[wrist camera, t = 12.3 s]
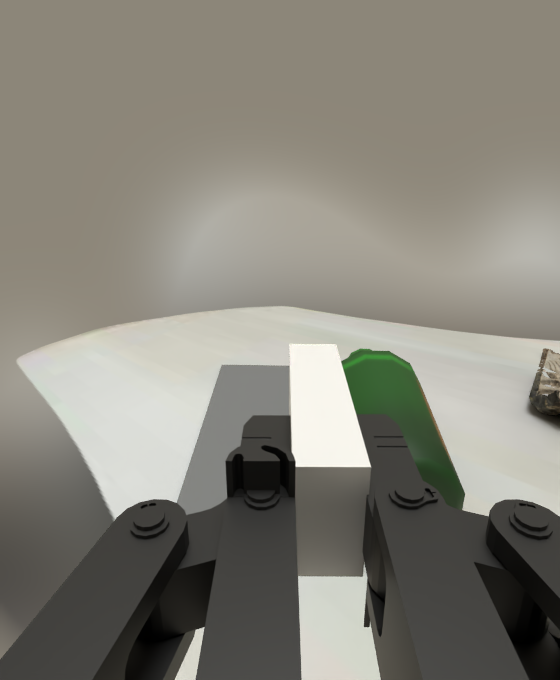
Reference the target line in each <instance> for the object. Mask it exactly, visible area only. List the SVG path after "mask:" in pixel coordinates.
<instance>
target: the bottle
mask: <svg viewBox="0 0 560 680" xmlns="http://www.w3.org/2000/svg"><path fill="white" fill-rule="evenodd" d="M341 363H342V367H343V370H344V374H345V377H346V381H347V384H348V388H349V391H350V395H351V398H352V402H353V405H354V409H355V412H356V414H386V415H387V416H389V417H390V418H391V419H392V420H393V421H395V422H396V423H397V424H398V425H399V427H400V429H401V432H402V434H403V438H404V439H405V441H406V443H407V445H408V448H409V450H410V452H411V455H412V457H413V459H414V461H415V464H416V466H417V468H418V471H419V473H420V475H421V478H422V480H423V481H424V482H427V483H428V484H430V485H431V486H433V487H434V488H436V489H437V490H438V491H439V493H440V494H441V495H442V497H443V498H444V500H445V502H446V504H447V505H449V506H451V507H453V508H456V509H459V510H462V507H463V502H464V496H465V493H464V490H463V488H462V485H461V483H460V480H459V478H458V476H457V473H456V471H455V468H454V466H453V463H452V461H451V458H450V456H449V453H448V451H447V449H446V446H445V444H444V441H443V439H442V436H441V434H440V431H439V429H438V426H437V424H436V421H435V419H434V417H433V414H432V412H431V409H430V407H429V404H428V402H427V399H426V397H425V394H424V392H423V390H422V387H421V385H420V382H419V380H418V378H417V377H416V375H415V373H414V371H413V369H412V367H411V365H410V363H408V362H407V361H405V360H403V359H401V358H400V357H398V356H396V355H395V354H393V353H391V352H390V351H372V350H370V349H359V350H357V351H355V352H352V353H351V354H350V356H349V357H348V358H347V359H345V360H343V361H341Z"/></svg>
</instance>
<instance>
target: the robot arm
mask: <svg viewBox="0 0 560 680" xmlns="http://www.w3.org/2000/svg"><path fill="white" fill-rule="evenodd" d="M225 464H226V484H227V499H225V500H224V501H223V502H222V503H220V504H219V505H217V506H215V507H213V508H211V509H207V510H204V511H201V512H197V513H192V514H188V515H186V513H185V510H184V509H183V508H182V507H181V506H180V505H179V504H177V503H174V502H172V501H169V500H156V499H154V500H149V501H144V502H140V503H138V504H136V505H134V506H132V507H130V508H128V509H126V510H125V511H124V512H123V513H122V514H121V515H120V516H118V517H117V518H116V520H115V521H114V522H113V523H112V525H111V526H110V527H109V528H108V530H107V531H106V532H105V533H104V534H103V535H102V537H101V538H100V539H99V540H98V542H97V543H96V544H95V545H94V547H93V548H92V549H91V550H90V551H89V552H88V554H87V555H86V556H85V557H84V559H83V560H82V561H81V562H80V564H79V565H78V566H77V567H76V568H75V569H74V571H73V572H72V573H71V574H70V576H69V577H68V578H67V579H66V580H65V582H64V583H63V584H62V586H60V588H59V589H58V590H57V591H56V593H55V594H54V595H53V596H52V597H51V599H50V600H49V601H48V602H47V604H46V605H45V606H44V607H43V608H42V610H41V611H40V612H39V613H38V615H37V616H36V617H35V618H34V619H33V621H32V622H31V623H30V624H29V626H28V627H27V628H26V629H25V630H24V632H23V633H22V634H21V635H20V636H19V638H18V639H17V640H16V642H15V643H14V644H13V645H12V646H11V647H10V648H9V650H8V651H7V652H6V653H5V655H4V656H3V657H2V658H1V659H0V680H175V677H176V675H177V673H178V671H179V668H180V666H181V664H182V662H183V660H184V657H185V655H186V653H187V651H188V649H189V646H190V644H191V642H192V640H193V637H194V634H195V630H196V629H199V628H202V627H205V629H204V634H203V640H202V646H201V652H200V658H199V664H198V669H197V675H196V680H301V654H300V624H299V595H298V576H360V577H363V565H364V562H365V567H366V572H367V577H368V579H367V591H366V604H365V616H364V627H369V626H370V622H371V628H372V633H373V638H374V644H375V649H376V655H377V660H378V666H379V671H380V677H381V680H560V517H559V516H558V515H556V514H555V513H553V512H552V511H550V510H549V509H547V508H545V507H542V506H540V505H538V504H535V503H533V502H528V501H523V500H503V501H501V502H498V503H495V505H494V506H493V507H492V509H491V510H490V514H489V516H484V515H480V514H475V513H471V512H466V511H463V510H459V509H456V508H453V507H451V506H449V505H447V504H446V502H445V500H444V498H443V497H442V495H441V494H440V493H439V491H438V490H437V489H436V488H434V487H433V486H431V485H430V484H428V483H427V482H424V481H423V480H422V478H421V475H420V473H419V471H418V468H417V466H416V464H415V461H414V459H413V457H412V455H411V452H410V450H409V448H408V445H407V443H406V441H405V439H404V438H403V434H402V432H401V429H400V427H399V425H398V424H397V423H396V422H395V421H393V420H392V419H391V418H390V417H389V416H387V415H386V414H356V412H355V409H354V405H353V402H352V398H351V395H350V391H349V388H348V384H347V381H346V377H345V374H344V370H343V367H342V363H341V360H340V356H339V353H338V349H337V346H336V344H289V415H253V416H252V417H251V418H250V419H249V420H248V421H247V422H246V423H245V424H244V426H243V433H242V439H241V445H240V446H239V447H237V448H236V449H234V450H233V451H232V452H230V453H229V455H228V457H227V459H226V461H225Z"/></svg>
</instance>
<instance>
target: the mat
mask: <svg viewBox="0 0 560 680" xmlns="http://www.w3.org/2000/svg"><path fill="white" fill-rule="evenodd" d="M253 415H289V366H264V365H222V366H221V369H220V372H219V376H218V379H217V382H216V385H215V388H214V391H213V394H212V397H211V400H210V403H209V406H208V409H207V412H206V415H205V418H204V421H203V424H202V428H201V431H200V434H199V437H198V440H197V443H196V446H195V449H194V452H193V455H192V458H191V461H190V464H189V467H188V470H187V473H186V476H185V480H184V483H183V486H182V489H181V492H180V495H179V498H178V501H177V504H179V505H180V506H181V507H182V508H183V509H184V510H185V513H186V515H188V514H192V513H197V512H201V511H204V510H207V509H211V508H213V507H215V506H217V505H219V504H220V503H222V502H223V501H224V500H225V499H227V484H226V464H225V461H226V459H227V457H228V455H229V453H230V452H232V451H233V450H234V449H236V448H237V447H239V446H240V445H241V439H242V433H243V426H244V424H245V423H246V422H247V421H248V420H249V419H250V418H251V417H252V416H253Z"/></svg>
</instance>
